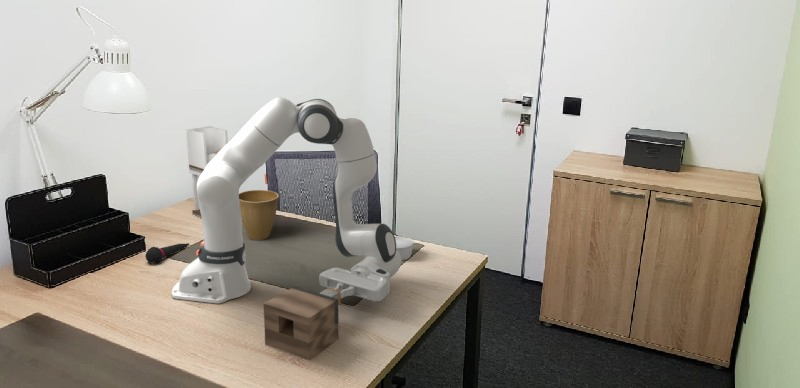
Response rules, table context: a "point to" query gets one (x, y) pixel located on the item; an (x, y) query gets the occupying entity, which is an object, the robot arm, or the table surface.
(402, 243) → the ramekin
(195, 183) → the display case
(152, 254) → the microphone
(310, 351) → the block
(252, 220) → the plant pot
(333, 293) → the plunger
